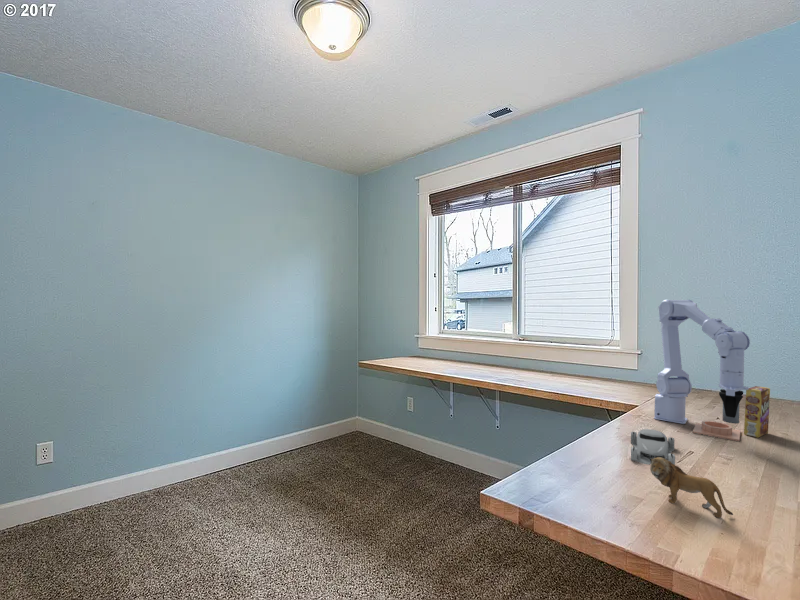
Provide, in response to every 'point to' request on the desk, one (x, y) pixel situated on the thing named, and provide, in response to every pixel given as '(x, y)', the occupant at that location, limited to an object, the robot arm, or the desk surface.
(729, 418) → the tube
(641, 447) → the car model
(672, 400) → the robot arm
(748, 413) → the candy box
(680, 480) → the lion figurine
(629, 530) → the desk surface
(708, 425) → the tube holder
